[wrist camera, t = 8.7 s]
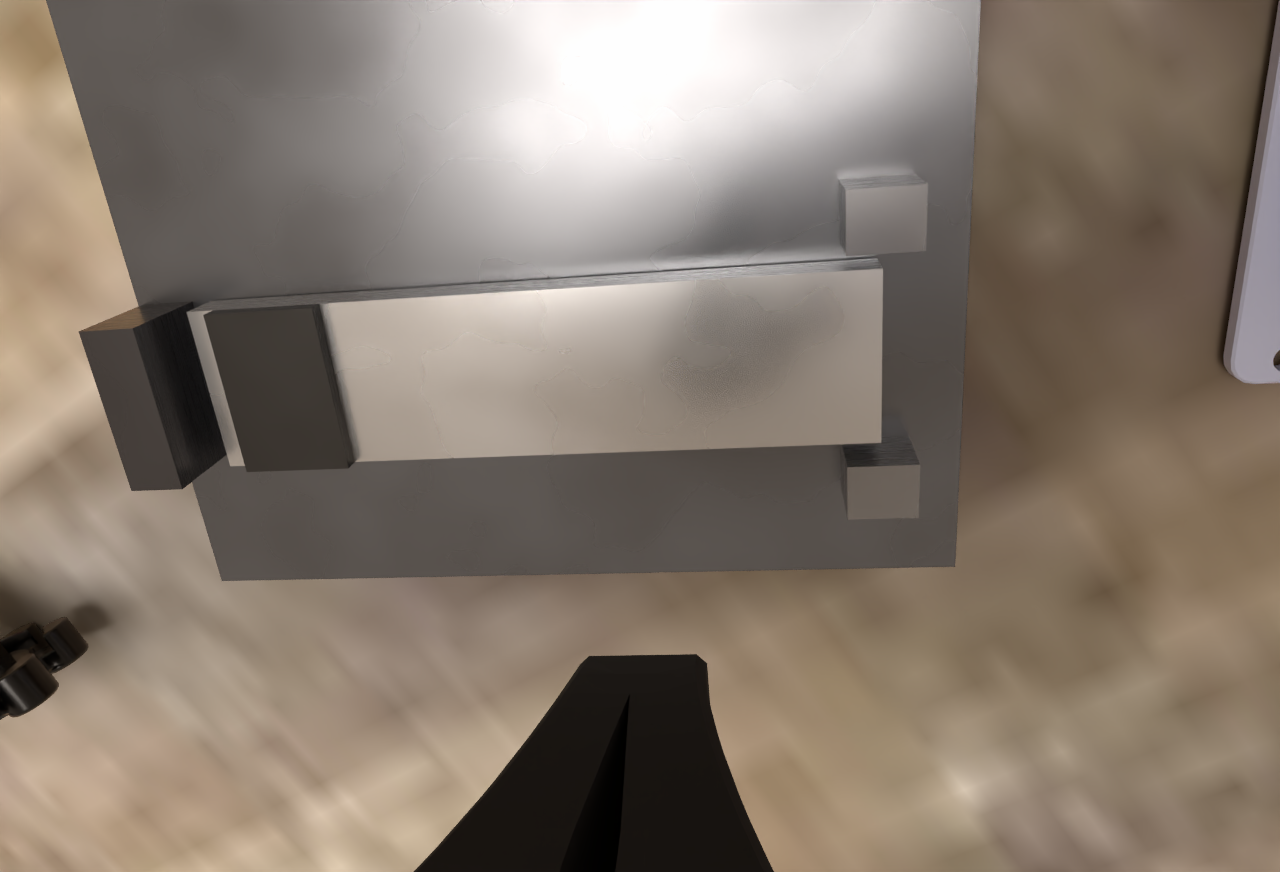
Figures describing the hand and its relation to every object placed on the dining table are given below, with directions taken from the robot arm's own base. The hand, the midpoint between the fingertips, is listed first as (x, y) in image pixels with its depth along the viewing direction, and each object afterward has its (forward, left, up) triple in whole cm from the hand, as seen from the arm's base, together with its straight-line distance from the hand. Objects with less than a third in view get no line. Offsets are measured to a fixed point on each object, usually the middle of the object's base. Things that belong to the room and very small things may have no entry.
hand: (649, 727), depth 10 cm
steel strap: (+3, -2, -7) cm, 8 cm away
